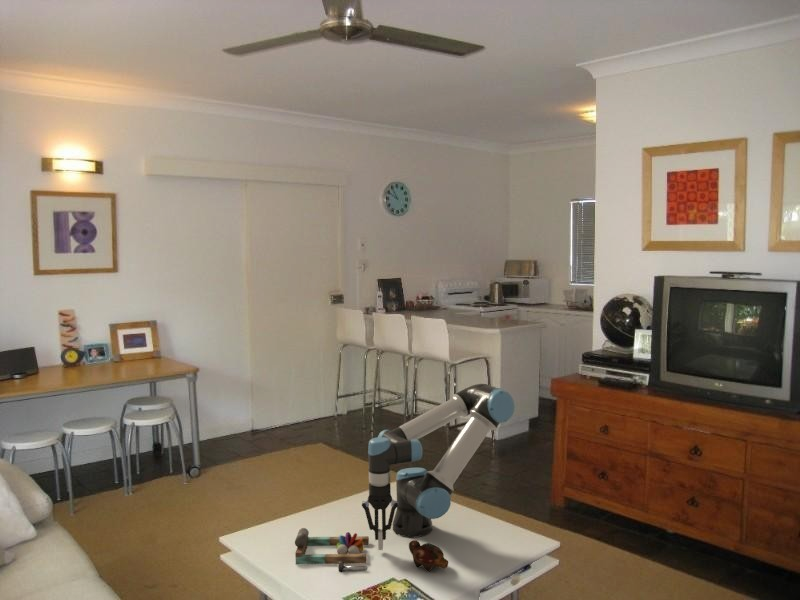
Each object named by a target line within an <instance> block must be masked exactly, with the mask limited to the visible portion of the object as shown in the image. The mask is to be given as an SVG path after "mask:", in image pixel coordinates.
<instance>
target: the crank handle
mask: <svg viewBox="0 0 800 600" xmlns="http://www.w3.org/2000/svg"><path fill="white" fill-rule="evenodd" d="M337 566H338V569H337V570H338V572H339V573H344V572H367V571H368V568H369V567H368V566H367V565H345V564H344V562H343V561H339V562H338V564H337Z"/></svg>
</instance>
